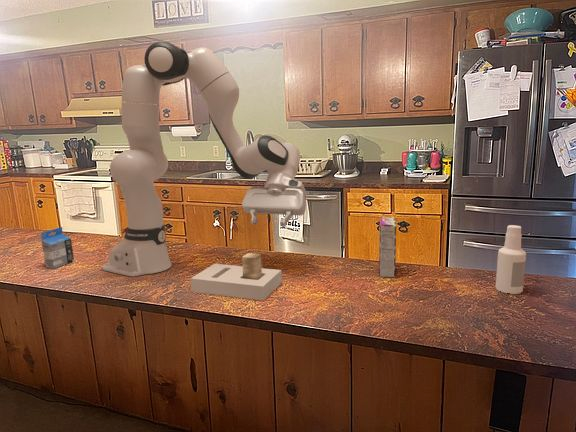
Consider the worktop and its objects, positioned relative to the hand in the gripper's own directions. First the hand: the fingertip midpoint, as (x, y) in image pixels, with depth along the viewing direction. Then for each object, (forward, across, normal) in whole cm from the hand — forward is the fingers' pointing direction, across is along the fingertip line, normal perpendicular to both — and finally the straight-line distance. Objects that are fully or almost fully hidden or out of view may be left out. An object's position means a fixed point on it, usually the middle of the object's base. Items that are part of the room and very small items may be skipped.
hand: (268, 224), depth 136 cm
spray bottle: (+6, +68, +17) cm, 70 cm away
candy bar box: (+2, +34, +21) cm, 40 cm away
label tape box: (+19, -73, +4) cm, 76 cm away
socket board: (+20, -5, +3) cm, 21 cm away
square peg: (+20, 0, +3) cm, 20 cm away
